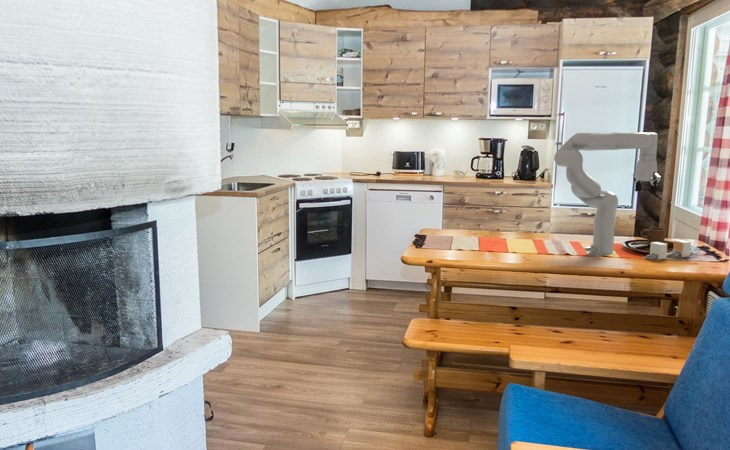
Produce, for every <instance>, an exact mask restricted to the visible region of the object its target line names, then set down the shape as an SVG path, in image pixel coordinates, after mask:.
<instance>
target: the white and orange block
mask: <svg viewBox="0 0 730 450" xmlns="http://www.w3.org/2000/svg"><path fill="white" fill-rule="evenodd" d="M691 244H692V243H691V241H687V240H682V239H675V240H674V239H673V244H672V245H673V248H672V252H681V257H682V258H689V257H688V256H690V251H691Z"/></svg>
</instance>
